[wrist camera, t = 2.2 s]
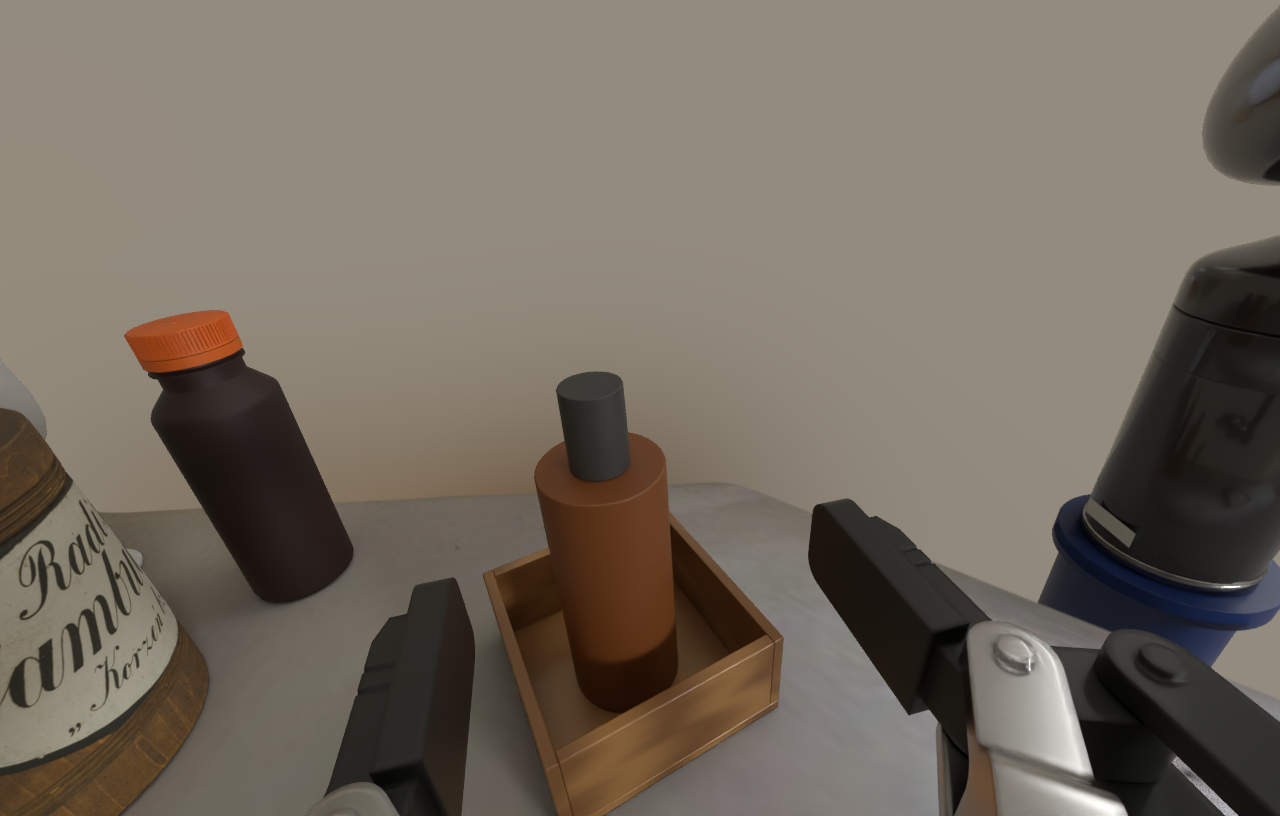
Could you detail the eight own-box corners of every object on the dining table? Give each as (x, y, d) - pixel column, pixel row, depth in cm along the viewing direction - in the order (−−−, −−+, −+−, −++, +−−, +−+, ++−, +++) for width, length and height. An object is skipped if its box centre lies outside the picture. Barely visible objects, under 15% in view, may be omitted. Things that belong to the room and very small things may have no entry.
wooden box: (666, 563, 37) (662, 502, 34) (778, 706, 27) (784, 637, 25) (501, 636, 33) (482, 573, 30) (564, 839, 23) (544, 772, 20)
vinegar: (238, 614, 36) (67, 350, 26) (278, 548, 42) (149, 313, 32) (340, 593, 37) (211, 332, 28) (365, 532, 43) (265, 299, 33)
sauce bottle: (648, 604, 33) (623, 347, 25) (698, 679, 28) (688, 392, 20) (561, 645, 31) (501, 378, 23) (599, 734, 26) (542, 436, 18)
